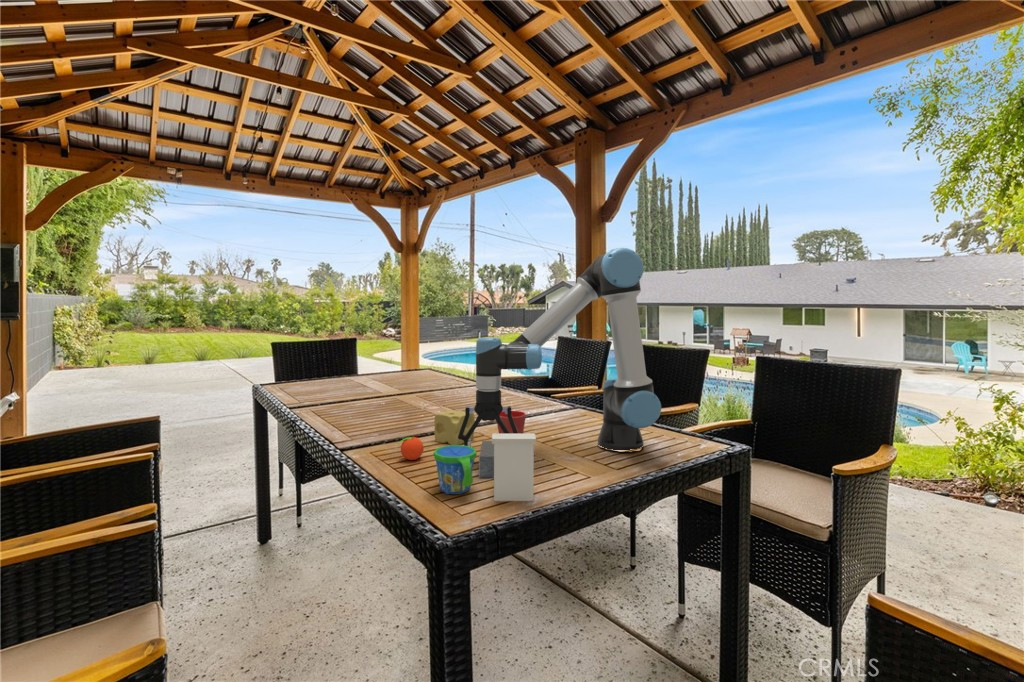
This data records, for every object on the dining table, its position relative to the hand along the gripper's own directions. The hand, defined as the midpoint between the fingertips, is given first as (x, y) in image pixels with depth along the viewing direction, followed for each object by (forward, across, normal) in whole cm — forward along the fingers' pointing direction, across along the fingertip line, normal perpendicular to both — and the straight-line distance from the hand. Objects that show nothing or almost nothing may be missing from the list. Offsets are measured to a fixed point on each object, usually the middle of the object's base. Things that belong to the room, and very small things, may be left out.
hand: (488, 462), depth 140 cm
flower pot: (0, -7, -25) cm, 26 cm away
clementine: (0, +24, -3) cm, 24 cm away
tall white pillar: (0, -7, +23) cm, 24 cm away
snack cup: (0, +8, +22) cm, 23 cm away
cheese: (+1, +13, -25) cm, 28 cm away
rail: (0, 0, +5) cm, 5 cm away
